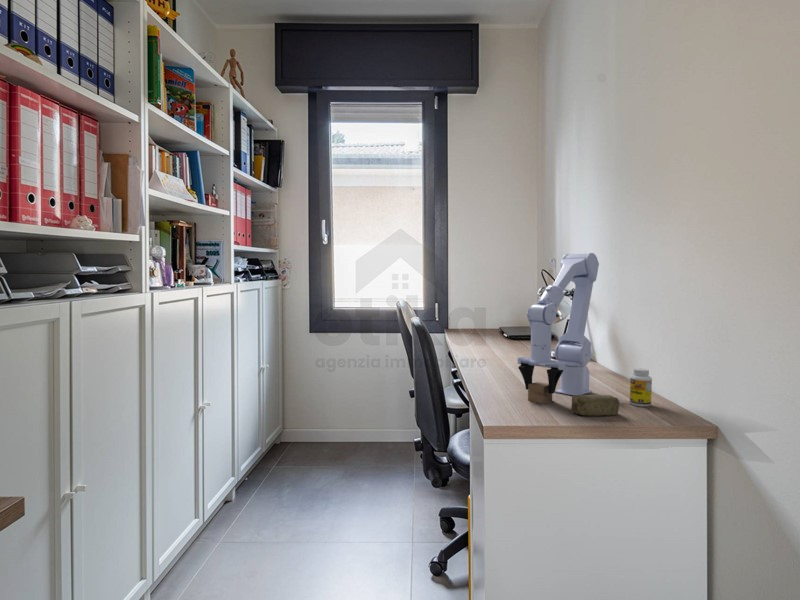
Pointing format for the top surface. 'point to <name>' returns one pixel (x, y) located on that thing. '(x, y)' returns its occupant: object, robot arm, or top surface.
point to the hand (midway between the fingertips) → (540, 391)
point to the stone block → (595, 405)
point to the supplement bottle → (640, 388)
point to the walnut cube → (539, 392)
